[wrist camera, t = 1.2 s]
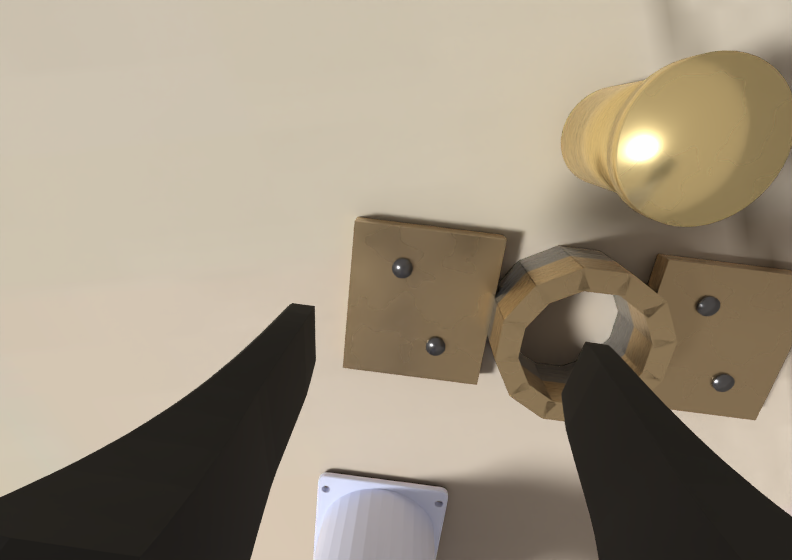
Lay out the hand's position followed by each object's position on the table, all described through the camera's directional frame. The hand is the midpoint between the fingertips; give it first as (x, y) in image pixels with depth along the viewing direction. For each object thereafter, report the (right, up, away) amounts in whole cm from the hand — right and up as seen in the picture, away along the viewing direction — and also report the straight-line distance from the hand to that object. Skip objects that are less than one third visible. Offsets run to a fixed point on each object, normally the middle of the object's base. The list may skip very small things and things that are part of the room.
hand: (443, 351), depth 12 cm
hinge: (+7, 0, +11) cm, 13 cm away
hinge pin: (+8, +8, +8) cm, 14 cm away
